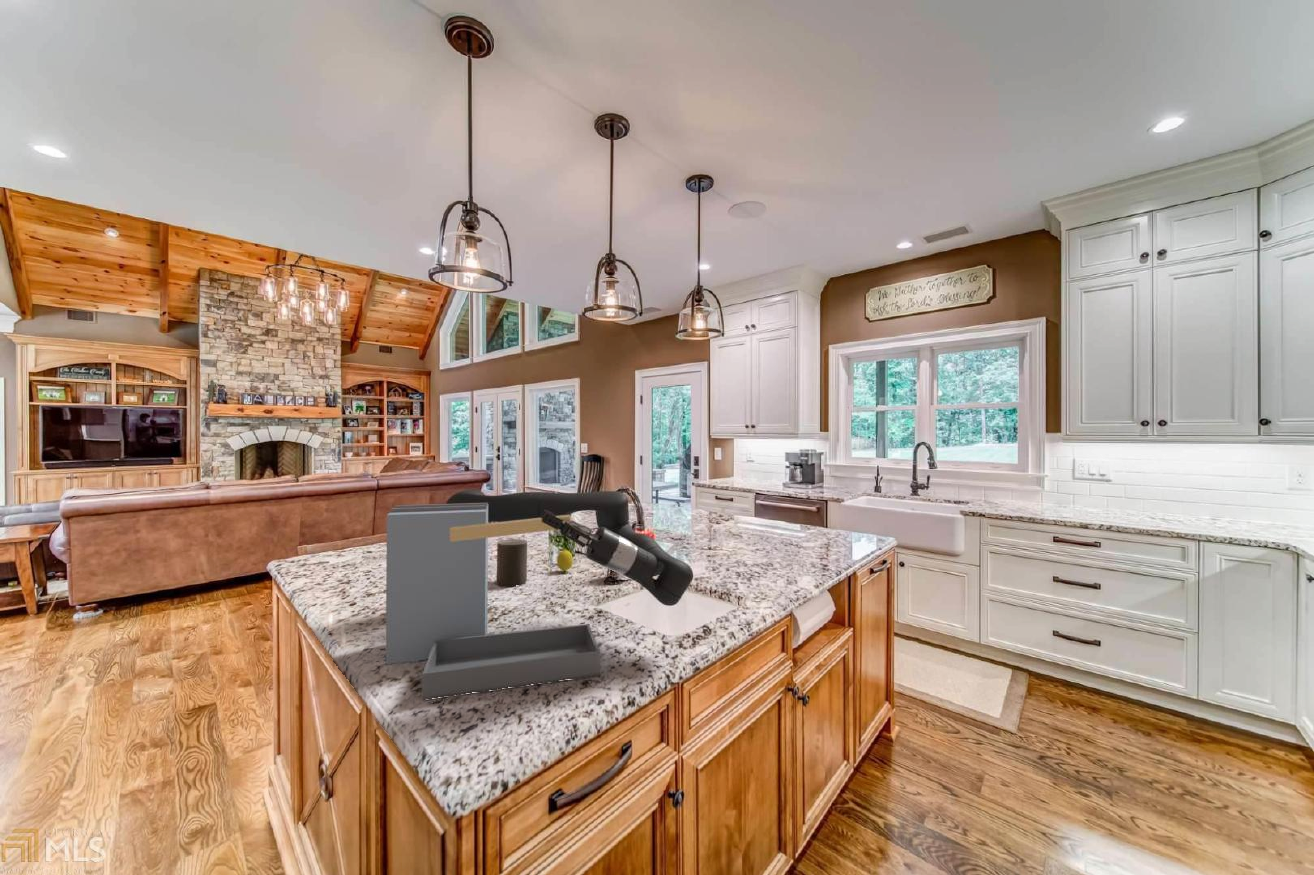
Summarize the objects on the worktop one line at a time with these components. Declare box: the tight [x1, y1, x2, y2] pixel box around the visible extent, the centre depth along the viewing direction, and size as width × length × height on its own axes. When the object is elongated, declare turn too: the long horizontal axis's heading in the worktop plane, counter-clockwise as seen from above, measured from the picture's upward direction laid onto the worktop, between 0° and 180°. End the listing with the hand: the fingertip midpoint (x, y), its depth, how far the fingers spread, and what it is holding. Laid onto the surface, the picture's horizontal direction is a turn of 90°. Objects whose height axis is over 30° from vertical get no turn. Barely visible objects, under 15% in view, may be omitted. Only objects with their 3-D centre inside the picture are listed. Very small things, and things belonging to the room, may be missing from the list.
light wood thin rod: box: [449, 514, 572, 542], centre depth 101 cm, size 24×2×2 cm, turn 107°
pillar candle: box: [495, 538, 528, 588], centre depth 161 cm, size 10×10×15 cm
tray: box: [421, 623, 601, 701], centre depth 101 cm, size 33×15×5 cm, turn 107°
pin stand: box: [385, 503, 489, 665], centre depth 112 cm, size 20×12×33 cm, turn 107°
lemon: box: [556, 549, 574, 572], centre depth 174 cm, size 6×6×8 cm
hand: (543, 515), depth 103 cm, fingers closed on light wood thin rod, 2 cm apart
